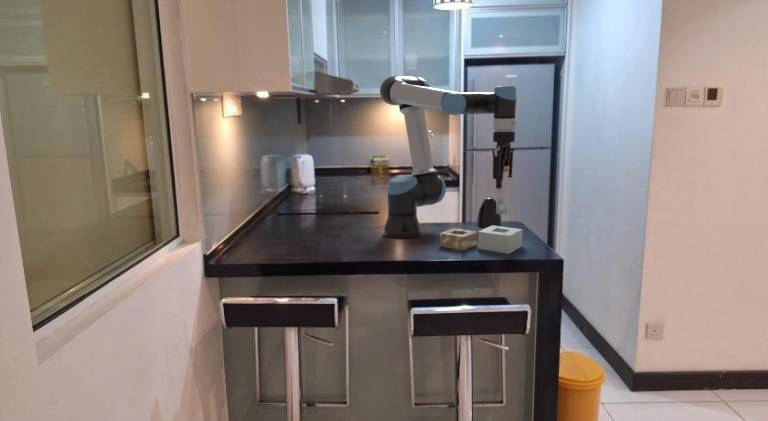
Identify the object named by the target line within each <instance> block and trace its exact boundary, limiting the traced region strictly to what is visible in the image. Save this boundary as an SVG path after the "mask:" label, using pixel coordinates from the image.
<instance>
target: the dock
mask: <svg viewBox="0 0 768 421" xmlns="http://www.w3.org/2000/svg"><path fill="white" fill-rule="evenodd" d="M523 231H524V230H523V229H522V228H514V227H509V226H508V227H507V226H502V227H501V226H494V225H492V226H490V227H488V228H485V229H483V230H481V231H478V230H477V249H478V250H483V251H488V252H489V251H490V252H493V253H495V252H496V253H502V254H507V255H509V254H511V253H513V252H514V251H516V250H518V249H520V248H521V247H522V245H523Z"/></svg>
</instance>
